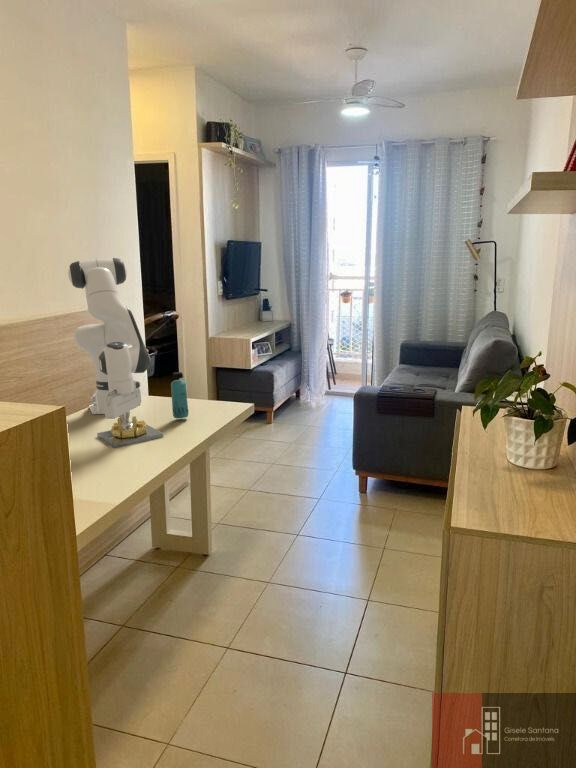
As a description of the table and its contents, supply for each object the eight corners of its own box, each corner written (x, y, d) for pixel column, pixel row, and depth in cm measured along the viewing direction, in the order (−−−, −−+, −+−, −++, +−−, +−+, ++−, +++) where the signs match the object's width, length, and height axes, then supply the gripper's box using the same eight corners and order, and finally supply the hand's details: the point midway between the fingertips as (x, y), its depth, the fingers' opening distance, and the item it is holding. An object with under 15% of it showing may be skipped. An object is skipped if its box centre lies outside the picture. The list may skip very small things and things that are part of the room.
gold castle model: (97, 436, 215) (95, 424, 214) (144, 426, 226) (143, 414, 225) (113, 448, 201) (112, 434, 200) (163, 437, 212) (162, 424, 211)
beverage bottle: (170, 421, 232) (166, 373, 228) (178, 417, 238) (174, 370, 234) (184, 422, 230) (180, 374, 225) (192, 418, 236) (188, 371, 232)
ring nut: (114, 429, 218) (112, 411, 216) (147, 426, 220) (145, 408, 219) (110, 439, 205) (108, 420, 204) (145, 436, 208) (144, 417, 206)
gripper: (114, 394, 194) (118, 432, 197) (142, 381, 213) (146, 416, 216) (97, 393, 195) (102, 432, 198) (127, 381, 215) (131, 416, 218)
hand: (125, 424), depth 207 cm, fingers closed
